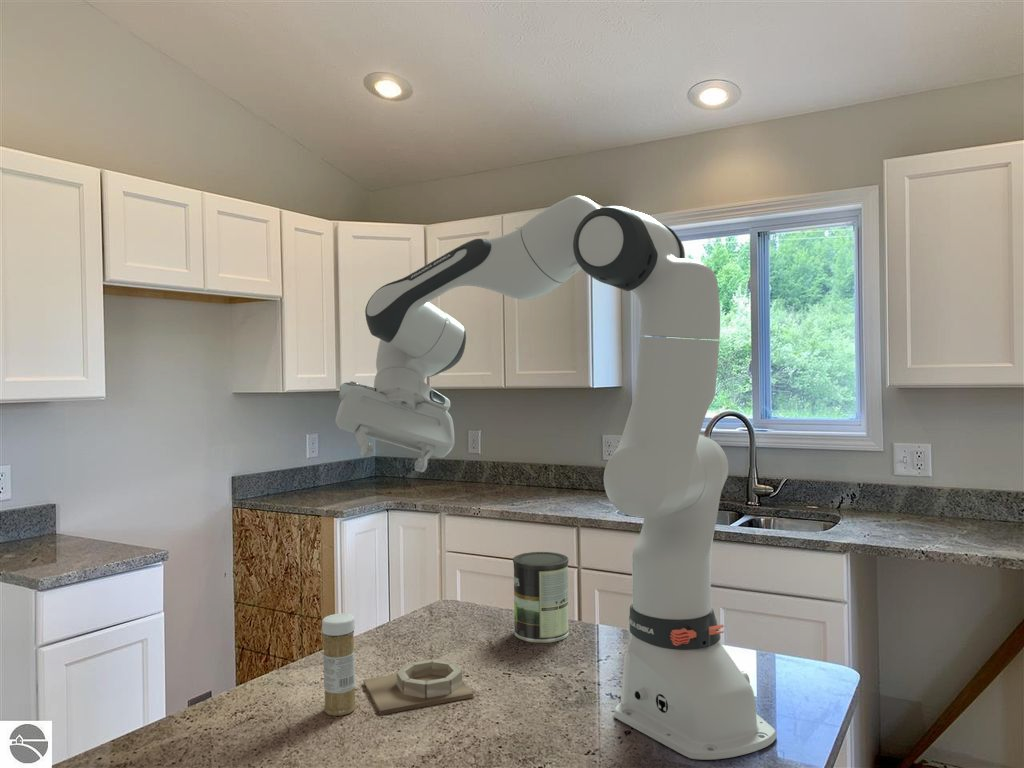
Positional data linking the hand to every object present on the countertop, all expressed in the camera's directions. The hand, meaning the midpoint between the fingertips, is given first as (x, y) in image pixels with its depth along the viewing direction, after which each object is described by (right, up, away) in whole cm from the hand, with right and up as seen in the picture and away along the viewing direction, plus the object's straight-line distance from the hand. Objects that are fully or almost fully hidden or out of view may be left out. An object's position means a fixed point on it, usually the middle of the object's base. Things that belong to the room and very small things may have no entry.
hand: (394, 462), depth 121 cm
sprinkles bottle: (-6, -35, -13) cm, 37 cm away
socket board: (+4, -34, -6) cm, 35 cm away
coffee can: (+25, -34, +18) cm, 46 cm away
